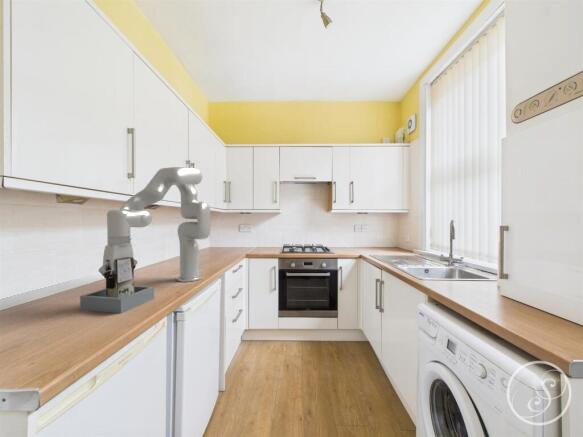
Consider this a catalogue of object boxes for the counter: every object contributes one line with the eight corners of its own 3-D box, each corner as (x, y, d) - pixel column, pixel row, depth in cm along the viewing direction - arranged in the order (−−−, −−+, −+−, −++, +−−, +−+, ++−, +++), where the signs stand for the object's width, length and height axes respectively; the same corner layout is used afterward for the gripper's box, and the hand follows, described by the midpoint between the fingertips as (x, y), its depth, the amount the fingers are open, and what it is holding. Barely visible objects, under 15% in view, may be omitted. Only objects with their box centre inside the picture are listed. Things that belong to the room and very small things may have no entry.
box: (118, 296, 108) (118, 284, 108) (154, 298, 104) (154, 286, 104) (80, 309, 92) (80, 296, 92) (121, 313, 89) (120, 299, 89)
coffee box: (135, 297, 99) (134, 257, 99) (117, 302, 94) (117, 259, 93) (122, 294, 103) (121, 255, 103) (104, 298, 98) (104, 257, 98)
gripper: (129, 238, 107) (130, 279, 108) (89, 243, 90) (90, 291, 91) (144, 239, 106) (145, 280, 106) (106, 243, 89) (107, 292, 89)
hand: (119, 285), depth 98 cm, fingers closed on coffee box, 7 cm apart
